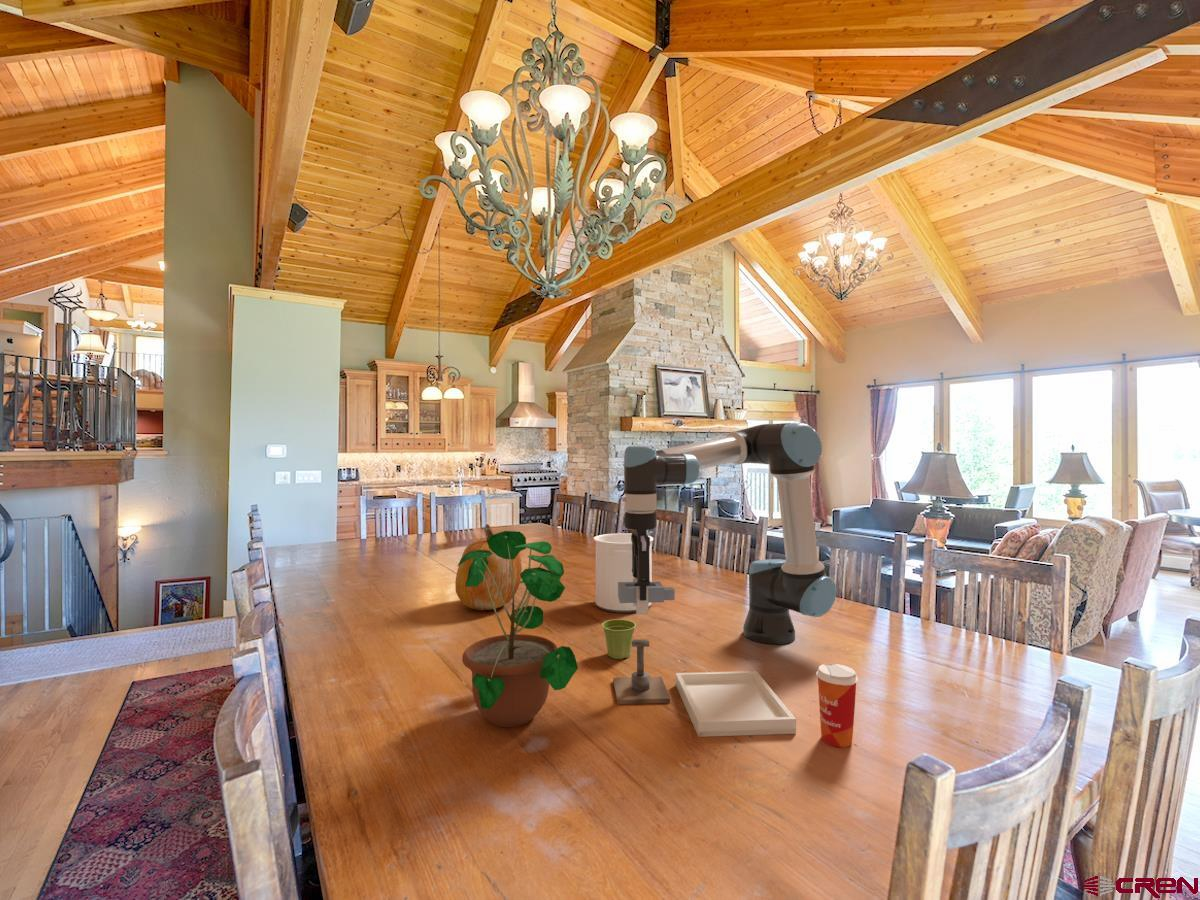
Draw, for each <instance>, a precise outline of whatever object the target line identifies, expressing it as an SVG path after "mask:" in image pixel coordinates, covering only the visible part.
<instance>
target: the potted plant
mask: <svg viewBox="0 0 1200 900" xmlns="http://www.w3.org/2000/svg"><path fill="white" fill-rule="evenodd" d="M487 543H488V546H489V548H490V549H491V551H492V552H494V553H495V554H496V555H497V556H499V557H502V558H504V559H509V560H510V559H515V557H516V556H517V555H518V554H519V555H520V552H521V551H524V550H526V549H529V555H528V556H527V558H528V568H524V569H523V571H522V573H521V574H520V576H521V580H520V584H524V585H525V590H524V593H523V595H522V597H521V600H520V601H519V603H518V606H517V607H516V609H515V595H514V585H513V576H512V568H511V560H510V570H511V580H512V593H513V598H512V603H511V605H512V606H511V613H509V611H508V607H507V606H506V604H505V603H504V601H503V598H502V596H501V593H500V591H499V588H498V586H497V584H496V582H495V580H494V578H493V576H492V574H491V572H490V570H489V568H488V563H489V561H488V559H487V557H488V556H491V555H492V554H493V553H492V552H490V551H488V550H474V551H470V552H468V553H467V554H465V555H464V556H463V557H462V556H461V558H460V559H459V560H460V561H459V562H458V564H457V567H459V565H460V564H462V563H463V562H465V561H467V560H469V559H473V558H474V559H473V561H472V563H471V565H470V567H469V571H468V578H467V581H466V584H465V586H466V587H471V586H474V587H477V586H478V585H479V584H480V583H481V582H482V581H483V579H485V577H484V575H485V572H486V568H487V569H488V571H489V573H490V575H491V577H492V579H493V581H494V583H495V585H496V588H497V590H498V592H499V595H500V597H501V600H502V603H503V609H504V610H505V612H506V614H507V617H508V618H509V621H510V631H509V634H507V632H506V629H505V628H504V625H503V624H502V622H501V619H500V616H499V614H498V613H497V609H495V607H494V604H493V601H492V598H491V595H490V591H489V588H488V584H487V581H486V579H485V581H486V585H487V588H488V592H489V596H490V600H491V603H492V606H493V609H494V610H493V611H494V614H495V617H496V618H497V619H496V620H497V622H498V623H499V625H500V629H501V631H502V632H503V634H501V635H497V636H496V635H495V636H491V637H486V638H484V639H481V640H478V641H476V642H474V643H472V644H470V645H469V646H468V647H467V648H465V650H464V652H463V653H462V658H461V660H462V663H463V664H462V665H464V666H465V667H466V668H468V669H469V670H470V671H471V686H472V689H471V690H472V694H473V695H472V696H473V701H474V703H475V705H476V707H477V710H479V712H480V713H481V715H482V716H483V717H484V718H486V719H487V720H488V721H489V722H490V723H491V724H493V725H495V726H498V727H502V728H503V727H504V728H512V727H513V728H514V727H518V726H521V725H522V726H523V725H525V724H528V723H529V722H530V721H531V720H533V718H534V717H535V716H536V715H537V714H538V713H539V712H540V711H541V709H542V708H543V707H544V706H545V704H546V700H547V698H548V695H549V689H550V686H551V688H552V689H553V690H554V691H560V690H563V689H565V688H566V687H567V685H568V684H569V682H570V681H571V679H572V677H573V676H574V675H575V673H576V672H577V671H578V669H579V667H578V663H577V658H576V656H575V655H576V654H575V653H574V651H573V649H572V648H571V647H569V646H564V645H562V646H561V645H560V646H559V647H558V646H557V644H555V642H553V641H552V640H550V639H548V638H545V637H543V636H538V635H534V634H525V633H524V634H523V633H520V634H519V632H521V631H522V630H523V629H527V630H533V629H537V628H539V627H540V626H541V625H543V624H544V623H543V622H544V611H543V609H542V608H541V607H539V606H536V605H535V604H536V600H539V601H543V602H549V603H551V602H555V601H557V600H558V599H560V598H561V596H562V594H563V592H564V590H565V589H566V587H565V586H564V584H563V583H562V582H561V578H562V577H563V575H565V574H564V573H565V570H564V569H565V568H564V565H563V563H562V562H561V561H560V560H558V559H557V558H556V557H555V556H554V555H553V554H550V553H551V551H552V549H553V547H552V544H550V543H549V542H547V541H545V540H543V541H536V542H535V541H534V542H528V543H527V539H526V536H525V535H524V534H523V533H522V532H521V531H516V530H513V531H512V530H504V531H501V532H498V533H493V535H491V537H490V538H489V540H488V542H487ZM532 551H534V552H537V553H540V554H541V555H534V554H532ZM531 561H534V562H537V563H539V564H540V565H539V566H538V567H531V563H532V562H531ZM542 565H543V567H545V568H546V569H545V568H543V567H542ZM526 595H527V596H526ZM531 596H532V597H534V599H533V602H532V605H528V604H529V601H530V598H531ZM525 598H526V599H525ZM518 627H520V628H519V629H518Z"/></svg>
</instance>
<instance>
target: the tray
mask: <svg viewBox="0 0 1200 900" xmlns="http://www.w3.org/2000/svg"><path fill="white" fill-rule="evenodd" d="M675 687H676V689H677V691H678V694H679V696H680V698H681V700H682V703H683V705H684V708H685V709H686V712H687V714H688V716H689V719H690V721H691V723H692V725H693V727H694V731H695V732H696V734H697V737H698V738H701V737H703V738H704V737H706V738H707V737H732V736H733V737H736V736H737V737H739V736H764V735H792V734H793V735H795V734H797V718H796V717H795V716H794V715H793V713H792V712H791V711H790V710H789V708H787V706H786V705H785V703H783V701H782V700H781V699H780V697H779V696H778V695H777V694H776V693H775V692H774V690H773V689H772V688H771V686H769V684H768V683H767V682H766V681H765V680H764V678H763V677H762V675H760V673H759V672H758V671H757V670H755V671H754V670H750V671H745V670H744V671H710V672H709V671H708V672H700V671H699V672H675Z"/></svg>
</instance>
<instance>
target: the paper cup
mask: <svg viewBox="0 0 1200 900" xmlns="http://www.w3.org/2000/svg"><path fill="white" fill-rule="evenodd" d="M815 674H816V677H817V686H818V700H819V701H818V702H819V703H818V704H819V721H820V734H821V740H822V741H823V742H824V743H825V744H827V745H829V746H831V747H834V748H839V749H842V748H844V749H846V748H849V747H851V746H852V743H853V737H854V736H853V735H854V722H855V707H856V696H857V695H856V692H857V683H858V682H859V678H858V676H857V673H856V671H855V670H854V669H853V668H851V667H850V666H846V665H843V664H838V663H834V664H833V663H827V664H823V663H822V664H821V665H819V666H818V669H817V671H816V672H815Z"/></svg>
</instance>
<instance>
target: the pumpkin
mask: <svg viewBox="0 0 1200 900" xmlns="http://www.w3.org/2000/svg"><path fill="white" fill-rule="evenodd" d="M484 534H485V538H481V539H478V540H476V541H473V542H472V543H470V544H468V545H467V546H466V547H465V548H464V551H463V552H462V555H461V558H462V557H463V556H464V555H465V554H467V553H468V552H470V551H474V550H488V551H490V552H492V551H491V549H490V548H489V546H488V543H487V542H488V540H489V538H490V537H491V535H494V532H493V530H492V528H491V526H490V525H489V524H485V526H484ZM492 553H493V554H492V555H491V556H488V557H487V559H488V561H489V563H488V568H489V570H490V572H491V574H492V576H493V578H494V580H495V582H496V584H497V586H498V588H499V591H500V593H501V596H502V598H503V601H504V603H505V605H506V604H508V603H509V602H510V601H511V600H513V593H512V580H511V570H510V560H511V568H512V576H513V585H514V596H515V595H516V593H517V591H518V589H519V586H520V584H521V583H520V581H522V579H521V576H520V574H521V573H522V572H523V571H522V569H523V568H522V567H523V566H522V560H521V556H520V553H519V554H518V555H517V556H516V557H515V559H510V560H509V559H504V558H502V557H499V556H497V555H496V554H495V553H494V552H492ZM473 559H474V558H473ZM473 559H469V560H467V561H465V562H463V563H462V564H460V565H459V566H457V567H458V568H457V571H456V576H455V593H456V595H457V597H458V599H459V601H460V602H461V603H462V604H464V606H465V607H468V608H470V609H472V610H475V611H490V610H492V611H494V609H493V606H492V603H491V600H490V596H489V592H488V588H489V591H490V595H491V598H492V601H493V604H494V607H495V609H496V610H498V609H499V608H501V607H504V605H503V603H502V600H501V597H500V595H499V592H498V590H497V588H496V585H495V583H494V581H493V579H492V577H491V575H490V573H489V571H488V569H487V568H486V572H485V575H484V577H485V579H486V581H487V584H488V588H487V585H486V581H485V579H483V581H482V582H481V583H480V584H479V585H478V586H477V587H474V586H471V587H466V586H465V584H466V581H467V578H468V571H469V567H470V565H471V563H472V561H473Z"/></svg>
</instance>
